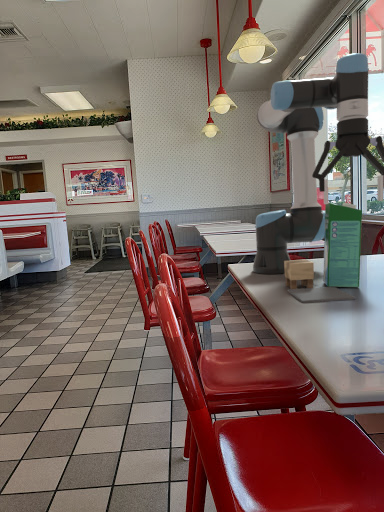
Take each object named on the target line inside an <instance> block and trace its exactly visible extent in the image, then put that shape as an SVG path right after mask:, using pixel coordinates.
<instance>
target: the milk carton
mask: <svg viewBox="0 0 384 512" xmlns="http://www.w3.org/2000/svg"><path fill="white" fill-rule="evenodd" d="M324 205H325V206H324V207H325V209H324V211H325V236H324V238H323V239H324V243H323V247H324V248H323V276H322V277H323V280H322V281H323V283H324V284H325V285H326V287H336V288H338V287H339V288H360V279H361V278H360V275H361V274H360V273H361V248H362V247H361V246H362V221H363V210H362V209H360V208H359V209H358V208H357V205H356V204H352V203H347V202H343V203H342V204H335V203H332V202H328V204H324Z"/></svg>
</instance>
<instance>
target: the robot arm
mask: <svg viewBox="0 0 384 512" xmlns="http://www.w3.org/2000/svg"><path fill="white" fill-rule="evenodd" d="M368 59H369V58H368V56H367V55H366V54H365V53H361V52H358V53H350V54H347V55H344V56H341V57H340V58H338V60H337V61H336V63H335V64H336V65H335V66H336V68H335V71H334V72H335V75H334V76H333V77H325V78H324V77H323V78H312V79H311V78H309V79H297V80H295V79H294V80H292V79H291V80H287V79H285V80H282V81H281V80H280V81H276V82H273V84H272V86H271V90H270V99H269V100H266V101H265V102H263V103H262V104H261V105H260V106H259V108H258V109H257V113H256V122H257V123H258V125H259V126H260V127H261V128H262V129H263V130H265V131H266V132H270V133H273V134H284V133H285V134H286V139H287V140H288V141H289V142H290V145H291V147H290V148H291V165H292V166H291V167H292V185H293V189H292V190H293V205H292V206H291V207H290V212H287V211H286V209H279V210H273V211H268V212H264V213H260V214H258V215H257V216H256V217H255V226H254V227H255V236H256V237H255V238H256V239H255V240H256V254H255V257H254V261H253V264H252V272H254V273H255V274H262V275H278V274H285V268H284V261H290V260H291V258H290V255H289V252H288V244H295V243H296V244H298V243H299V244H300V243H313V242H314V243H315V242H320V241H322V240H323V239H325V210H322V209H323V208H322V205H321V204H320V203H319V202H318V196H317V195H318V192H317V191H318V190H319V192H321V193H323V205H325V204H328V203H329V195H328V194H329V193H328V191H329V189H328V186H329V185H328V183H329V182H328V181H329V180H328V178H327V179H326V177H327V175H329V173H330V172H331V170H332V169H333V168H334V167H335V166H336V165H337V163H338V162H339V161H340V160H341V158H342V157H345V158H350V157H354V158H355V157H360V156H361V157H363V158H365V160H366V161H368V162H369V164H370V165H371V166H372V167H373V168H374V169H375V170H376V171H377V172H378V173H379V174H380V175H378V176H377V190H376V191H377V197H376V198H377V202H384V166H383V164H382V163H384V144H383V137H382V136H381V135H378V136H376V137H371V138H370V137H369V119H368V118H367V117H368V116H369V70H370V68H369V61H368ZM323 108H325V109H327V110H335V109H336V120H337V121H338V122H337V123H336V141H330V140H326V141H325V142H324V146H323V152H322V153H321V156H320V157H319V160H318V162H317V164H316V146H315V145H316V144H315V143H316V142H315V139H316V138H317V136H318V135H319V131H321V130H322V129H323V127H324V121H325V120H324V112H323V111H324V109H323ZM370 144H371V145H372V146H373V147H375V149H376V152H377V153H378V155H379V157H380V158H381V160H382V163H381V162H380V161H379V160H378V159H377V158H376V157H375V156H374V155H373V154H372V153H371V151H370V150H369V149H368V148H369V147H368V146H369V145H370ZM334 147H335V149H337V151H338V152H337V154H336V155H335V156H334V157H333V159H331V161H330V162H329V164H328V165H327V166H326V167H325V169H324V170H323V171H322V172H321V174H320V171H321V169H322V168H323V165H324V163H325V161H326V159H327V157H328V155H329V153H330V151H331V150H332V149H334ZM317 180H318V181H319V182H318V185H319V189H317Z"/></svg>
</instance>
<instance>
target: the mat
mask: <svg viewBox="0 0 384 512" xmlns="http://www.w3.org/2000/svg"><path fill="white" fill-rule="evenodd" d="M287 292H288V293H289V295H290V294H291V295H292V296H293V297H294V298H296V299H297V300H298V301H299V302H300V303H302V304H307V303H319V302H320V303H321V302H323V303H324V302H338V301H348V300H349V301H350V300H351V301H352V300H356V296H354V295H352V294H349V293H348V292H346V291H344V290H342V289H339V288H338V287H331V286H321V287H319V286H317V287H313V288H306V287H305V288H297V289H289V288H288V289H287Z"/></svg>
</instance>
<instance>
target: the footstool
mask: <svg viewBox="0 0 384 512" xmlns="http://www.w3.org/2000/svg"><path fill="white" fill-rule="evenodd" d="M314 263H315V262H313V261H310V260H309V259H294V260H293V259H290V261H284V268H285V273H284V277H285V286H286V287H290V289H298V281H300V282H301V283H300V284H301V286H306V287H305V288H314V279H315V277H314V275H315V274H314V273H315V271H314V267H315V266H314Z"/></svg>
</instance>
